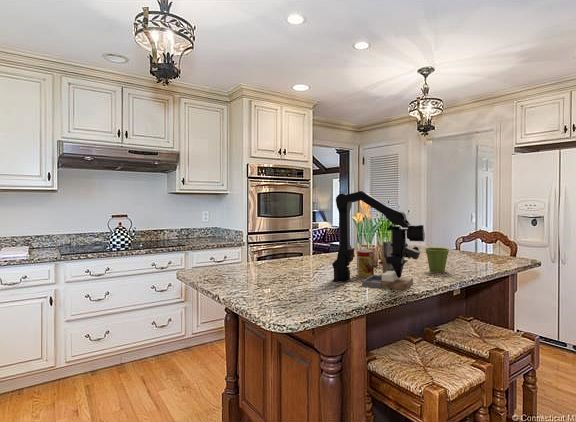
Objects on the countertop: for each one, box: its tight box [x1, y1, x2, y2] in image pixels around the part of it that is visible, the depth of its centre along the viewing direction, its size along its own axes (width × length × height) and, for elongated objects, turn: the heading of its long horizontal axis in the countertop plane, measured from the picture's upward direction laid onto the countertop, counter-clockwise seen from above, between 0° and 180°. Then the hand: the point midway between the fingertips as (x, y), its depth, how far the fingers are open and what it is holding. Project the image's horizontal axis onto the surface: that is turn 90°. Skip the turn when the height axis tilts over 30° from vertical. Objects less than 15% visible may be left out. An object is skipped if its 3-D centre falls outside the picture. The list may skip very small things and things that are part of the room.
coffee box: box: [382, 240, 395, 274], centre depth 176 cm, size 9×6×16 cm
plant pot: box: [424, 247, 451, 273], centre depth 185 cm, size 12×12×11 cm
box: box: [361, 274, 383, 289], centre depth 160 cm, size 8×15×2 cm, turn 149°
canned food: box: [356, 249, 375, 278], centre depth 177 cm, size 8×8×12 cm
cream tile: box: [381, 271, 398, 282], centre depth 156 cm, size 5×10×2 cm, turn 150°
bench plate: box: [381, 276, 414, 291], centre depth 155 cm, size 10×13×2 cm
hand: (399, 277), depth 155 cm, fingers closed
